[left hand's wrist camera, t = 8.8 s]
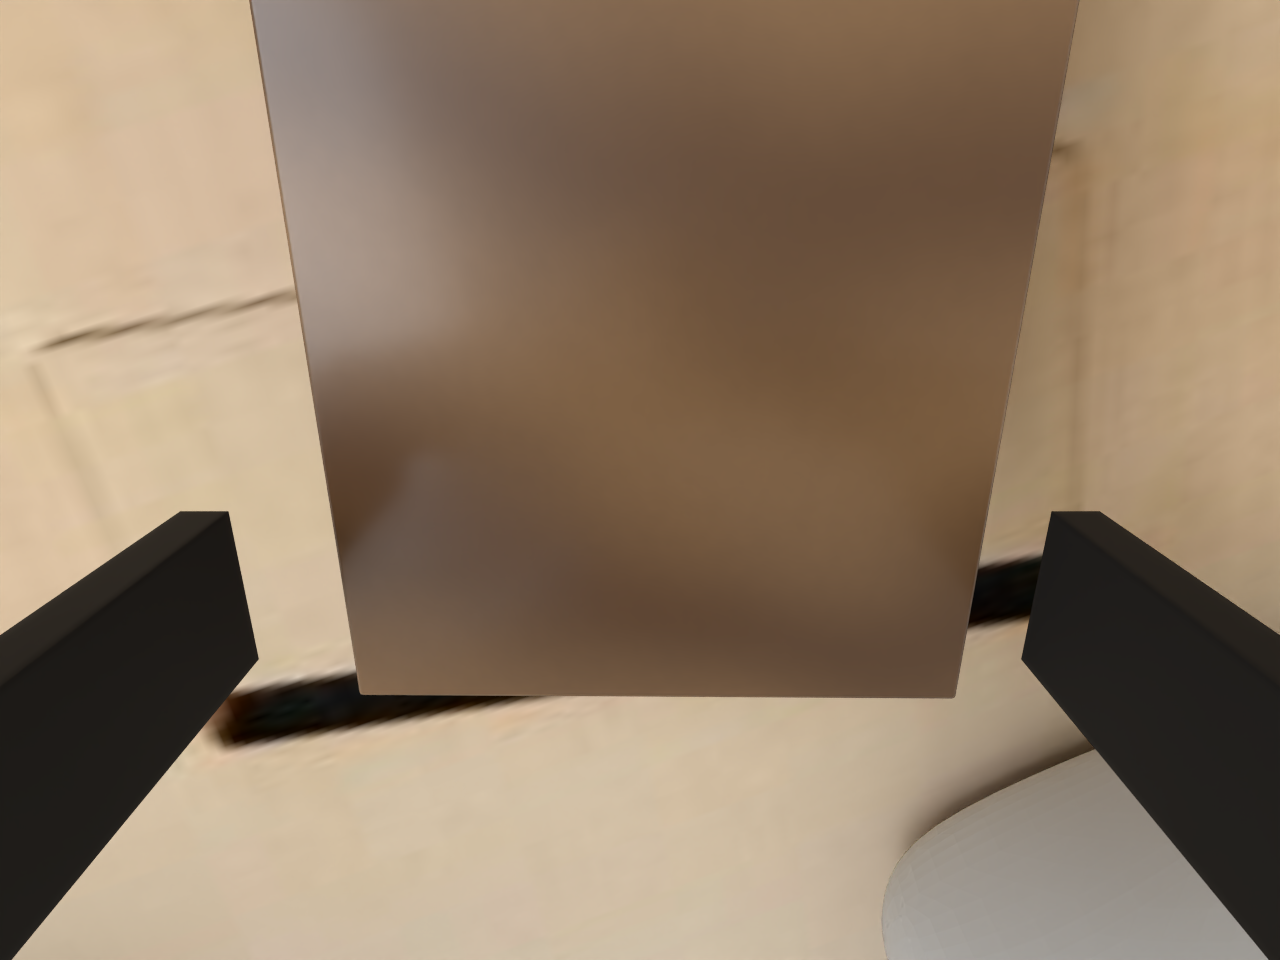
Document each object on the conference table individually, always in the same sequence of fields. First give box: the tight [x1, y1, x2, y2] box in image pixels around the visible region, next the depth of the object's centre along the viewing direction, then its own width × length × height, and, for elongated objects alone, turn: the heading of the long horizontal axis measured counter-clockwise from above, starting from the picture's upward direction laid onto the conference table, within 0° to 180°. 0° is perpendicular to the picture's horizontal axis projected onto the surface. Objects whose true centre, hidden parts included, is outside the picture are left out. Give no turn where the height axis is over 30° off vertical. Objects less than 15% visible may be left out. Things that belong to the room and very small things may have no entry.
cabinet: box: [249, 0, 1079, 698], centre depth 16 cm, size 20×11×12 cm, turn 0°
